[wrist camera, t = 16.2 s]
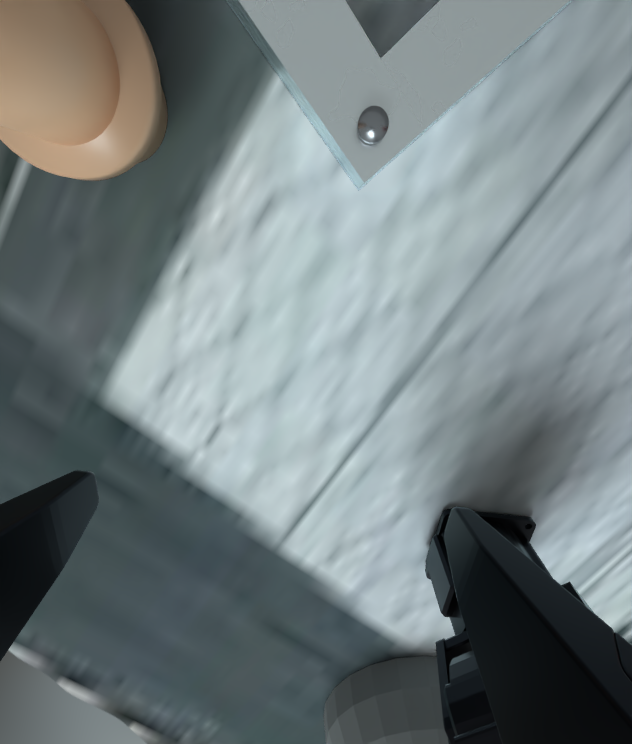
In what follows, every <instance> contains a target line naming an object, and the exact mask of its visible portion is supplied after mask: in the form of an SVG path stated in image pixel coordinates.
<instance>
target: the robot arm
mask: <svg viewBox="0 0 632 744" xmlns="http://www.w3.org/2000/svg"><path fill="white" fill-rule="evenodd" d="M98 503H99V494H98V488H97V482H96V477H95V474H94V473H93V472H90V471H80V470H77V471H73V472H71V473H69V474H66V475H64V476H62V477H60V478H57V479H55V480H53V481H51V482H49V483H46V484H44V485H42V486H40V487H38V488H35V489H33V490H31V491H29V492H27V493H24V494H22V495H20V496H18V497H16V498H13V499H11V500H9V501H7V502H4V503H2V504H0V661H1V660H2V658H3V657H4V655H5V654H6V652H7V651H8V649H9V648H10V646H11V645H12V643H13V642H14V640H15V639H16V637H17V636H18V634H19V633H20V632H21V630H22V629H23V627H24V626H25V624H26V623H27V621H28V620H29V618H30V617H31V615H32V614H33V612H34V611H35V609H36V608H37V606H38V605H39V604H40V602H41V601H42V599H43V598H44V596H45V595H46V593H47V592H48V590H49V589H50V587H51V586H52V584H53V583H54V581H55V580H56V578H57V577H58V575H59V574H60V572H61V571H62V569H63V568H64V566H65V564H66V563H67V561H68V559H69V557H70V556H71V554H72V552H73V550H74V548H75V547H76V545H77V543H78V541H79V539H80V538H81V536H82V534H83V532H84V530H85V528H86V527H87V525H88V523H89V521H90V519H91V518H92V516H93V514H94V512H95V510H96V508H97V506H98ZM535 527H536V524H535V522H534V521H533V520H532V518H530V517H525V516H514V515H504V514H494V513H484V512H474V511H473V510H471V509H470V508H463V507H454V508H453V509H447V510H445V511H444V512H443V513H442V515H441V518H440V522H439V525H438V529H437V532H436V535H434V536H433V538H432V541H431V544H430V548H429V551H428V555H427V558H426V564H427V566H426V569H425V572H426V576H427V578H429V579H431V581H432V584H433V588H434V591H435V594H436V598H437V601H438V604H439V608H440V611H441V613H442V614H443V615H444V616H445V617H450V620H451V623H452V626H453V629H454V632H455V636H453V637H450V638H448V639H446V640H445V639H441V640H439V641H437V642H436V651H437V665H438V675H439V685H440V695H441V705H442V715H443V725H444V729H445V732H446V734H447V737H448V743H449V744H632V645H631V644H630V643H629V642H628V641H626V640H625V639H624V638H623V637H622V636H620V635H619V634H618V633H614V631H613V629H612V628H611V627H610V626H608V625H607V624H606V623H605V622H604V621H603V620H601V619H600V618H599V617H598V616H597V615H595V614H594V612H593V611H592V610H591V608H590V607H589V606H588V605H587V603H586V602H585V601H584V599H583V598H582V597H581V596H580V594H579V593H578V592H577V590H576V589H575V588H574V587H573V585H572V584H571V583H570V582H568V583H566V584H563V585H560V584H559V583H558V582H557V581H555V580H554V579H553V578H552V576H551V575H550V573H549V572H548V570H547V569H546V567H545V566H544V564H543V563H542V561H541V559H540V558H539V556H538V555H537V553H536V552H535V550H534V549H533V547H532V546H531V544H530V543H529V541H530V539H531V537H532V534H533V532H534V530H535Z"/></svg>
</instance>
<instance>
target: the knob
mask: <svg viewBox="0 0 632 744" xmlns="http://www.w3.org/2000/svg"><path fill="white" fill-rule="evenodd" d="M167 120H168V114H167V104H166V99H165V95H164V92H163V89H162V86H161V82H160V74H159V69H158V65H157V60H156V57H155V54H154V51H153V48H152V45H151V43H150V40H149V38H148V36H147V33H146V31H145V29H144V27H143V26H142V24H141V22H140V20H139V19H138V17H137V15H136V14H135V13H134V11H133V10H132V8H131V7H130V6H129V4H128V3H127V2H126V1H125V0H0V139H1V140H2V142H3V143H5V144H6V145H7V146H8V147H9V148H10V149H11V150H12V151H13V152H15V153H16V154H17V155H19V156H20V157H21V158H23V159H24V160H25V161H27V162H29V163H30V164H32V165H34V166H35V167H38V168H40V169H42V170H44V171H47V172H50V173H53V174H56V175H59V176H64V177H69V178H74V179H79V180H85V181H99V180H107V179H110V178H113V177H117V176H119V175H121V174H123V173H125V172H126V171H128V170H129V169H131V168H132V167H133V166H134V165H135V164H137V163H140V162H142V161H145V160H146V159H148V158H149V157H151V156H152V155H153V154H154V153H155V152H156V151H157V149H158V148H159V146H160V145H161V143H162V141H163V138H164V136H165V132H166V128H167Z"/></svg>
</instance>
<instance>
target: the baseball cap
mask: <svg viewBox="0 0 632 744" xmlns="http://www.w3.org/2000/svg"><path fill="white" fill-rule="evenodd" d="M324 726H325V736H326V744H449V743H448V737H447V734H446V732H445V729H444V725H443V715H442V705H441V695H440V685H439V675H438V665H437V657H432V656H417V657H406V658H396V659H392V660H388V661H384V662H380V663H377V664H373V665H370V666H368V667H366V668H364V669H362V670H359V671H357V672H355V673H353V674H351V675H349V676H348V677H347V678H346V679H344V680H343V681H342V682H341V683H340V684H338V685H337V686H336V687H335V688H334V689H333V691H332V692H331V694H330V696H329V697H328V699H327V701H326V702H325V710H324Z"/></svg>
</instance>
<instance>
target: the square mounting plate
mask: <svg viewBox="0 0 632 744" xmlns="http://www.w3.org/2000/svg"><path fill="white" fill-rule="evenodd" d="M572 1H573V0H440V1H439V2H438V3H437V4H436V5H435V6H434V7H433V8H432V9H431V10H430V11H429V12H427V13H426V14H425V15H424V16H423V17H422V18H421V19H420V20H419V21H418V22H417V23H416V24H415V25H414V26H413V27H412V28H411V29H410V30H409V31H408V32H407V33H406V34H405V35H404V36H403V37H402V38H401V39H400V40H399V41H398V42H397V43H396V44H395V45H394V46H393V47H392V48H391V49H390V50H389V51H388V52H387V53H386V54H385V55H384V56H383V57H382V58H380V56H379V55H378V53H377V51H376V50H375V48H374V46H373V45H372V43H371V42H370V40H369V38H368V37H367V35H366V33H365V32H364V30H363V28H362V27H361V25H360V23H359V22H358V20H357V19H356V17H355V15H354V14H353V12H352V10H351V9H350V7H349V5H348V4H347V2H346V0H226V2H227V3H228V5H229V6H230V7H231V9H232V10H233V12H234V13H235V15H236V16H237V17H238V19H239V20H240V22H241V23H242V25H243V26H244V28H245V29H246V30H247V32H248V33H249V35H250V36H251V38H252V39H253V40H254V42H255V43H256V45H257V46H258V48H259V49H260V50H261V52H262V53H263V55H264V56H265V58H266V59H267V60H268V62H269V63H270V65H271V66H272V68H273V69H274V70H275V72H276V73H277V75H278V76H279V78H280V79H281V81H282V82H283V83H284V85H285V86H286V88H287V89H288V91H289V92H290V93H291V95H292V96H293V98H294V99H295V101H296V102H297V103H298V105H299V106H300V108H301V109H302V111H303V112H304V113H305V115H306V116H307V118H308V119H309V121H310V122H311V123H312V125H313V126H314V128H315V129H316V131H317V132H318V133H319V135H320V136H321V138H322V139H323V141H324V142H325V144H326V145H327V146H328V148H329V149H330V151H331V152H332V154H333V155H334V156H335V158H336V159H337V161H338V162H339V164H340V165H341V166H342V168H343V169H344V171H345V172H346V174H347V175H348V176H349V178H350V179H351V181H352V182H353V184H354V185H355V186H356V188H357V189H358V191H359V190H360V189H361V188H362V187H363V186H364V185H366V184H367V183H368V182H369V181H370V180H371V179H372V178H373V177H375V176H376V175H377V174H378V173H379V172H380V171H381V170H382V169H384V168H385V167H386V166H387V165H388V164H389V163H390V162H391V161H393V160H394V159H395V158H396V157H397V156H398V155H399V154H401V153H402V152H403V151H404V150H405V149H406V148H407V147H408V146H410V145H411V144H412V143H413V142H414V141H415V140H416V139H417V138H419V137H420V136H421V135H422V134H423V133H424V132H425V131H426V130H428V129H429V128H430V127H431V126H432V125H433V124H434V123H435V122H437V121H438V120H439V119H440V118H441V117H442V116H443V115H444V114H446V113H447V112H448V111H449V110H450V109H451V108H452V107H453V106H455V105H456V104H457V103H458V102H459V101H460V100H461V99H463V98H464V97H465V96H466V95H467V94H468V93H469V92H470V91H472V90H473V89H474V88H475V87H476V86H477V85H478V84H479V83H481V82H482V81H483V80H484V79H485V78H486V77H487V76H488V75H490V74H491V73H492V72H493V71H494V70H495V69H496V68H497V67H499V66H500V65H501V64H502V63H503V62H504V61H505V60H506V59H508V58H509V57H510V56H511V55H512V54H513V53H514V52H515V51H517V50H518V49H519V48H520V47H521V46H522V45H523V44H524V43H526V42H527V41H528V40H529V39H530V38H531V37H532V36H534V35H535V34H536V33H537V32H538V31H539V30H540V29H541V28H543V27H544V26H545V25H546V24H547V23H548V22H549V21H550V20H552V19H553V18H554V17H555V16H556V15H557V14H558V13H559V12H561V11H562V10H563V9H564V8H565V7H566V6H567V5H568V4H570V3H571V2H572Z"/></svg>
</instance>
